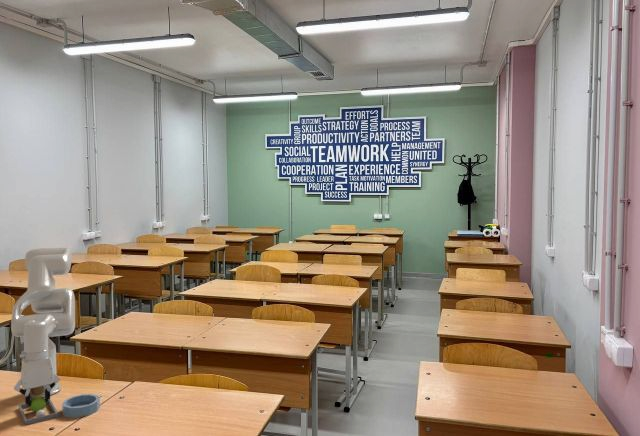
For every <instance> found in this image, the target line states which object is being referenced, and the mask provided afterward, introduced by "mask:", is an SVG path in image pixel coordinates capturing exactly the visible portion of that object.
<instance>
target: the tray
mask: <svg viewBox="0 0 640 436" xmlns="http://www.w3.org/2000/svg"><path fill="white" fill-rule="evenodd" d="M46 404H48V405H49V407H50V409H51V411H52V412H53V413H49V414H45V416H41V417H36V416H35V417H34V418H28V419H27V417H26V414H25V412H24V410H23V409H26V408H29V407H28V404H26V403H25V402H24V403H19V404H18V411H19V413H20V416H21V418H22V421H23V423H24V425H25V426H27V425H30V424H32V425H33V424H37V423H41V422H44V421H47V420H51V419H52V420H53V419H55V418H56V419H57V418H59V412H58V410H57V408H56V407H55V405H54V403H53V402H52V400H51V398H50V399H49V402H48V403H47V402H46Z"/></svg>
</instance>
